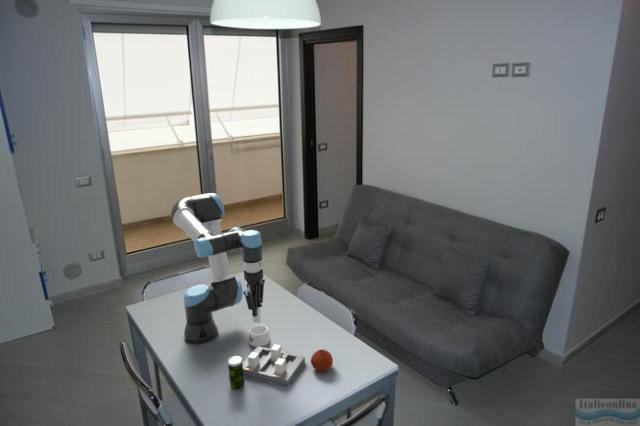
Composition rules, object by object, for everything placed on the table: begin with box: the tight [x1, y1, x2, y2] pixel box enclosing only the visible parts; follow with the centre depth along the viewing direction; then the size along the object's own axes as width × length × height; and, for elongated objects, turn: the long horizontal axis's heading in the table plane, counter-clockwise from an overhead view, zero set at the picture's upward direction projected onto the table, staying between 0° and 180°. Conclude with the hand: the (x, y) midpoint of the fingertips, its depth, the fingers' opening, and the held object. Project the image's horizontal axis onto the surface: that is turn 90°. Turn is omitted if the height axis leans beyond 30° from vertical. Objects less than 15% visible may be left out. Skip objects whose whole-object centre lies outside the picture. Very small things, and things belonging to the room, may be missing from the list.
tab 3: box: [275, 358, 286, 377], centre depth 177 cm, size 3×4×6 cm
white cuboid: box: [270, 343, 283, 362], centre depth 187 cm, size 3×4×6 cm
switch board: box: [242, 346, 306, 387], centre depth 184 cm, size 22×16×3 cm
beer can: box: [227, 355, 245, 392], centre depth 173 cm, size 5×5×12 cm
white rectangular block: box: [247, 351, 260, 370], centre depth 182 cm, size 3×4×6 cm
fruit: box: [310, 348, 334, 372], centre depth 182 cm, size 9×9×8 cm
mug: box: [247, 324, 271, 348], centre depth 204 cm, size 12×10×6 cm
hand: (256, 321), depth 185 cm, fingers closed
